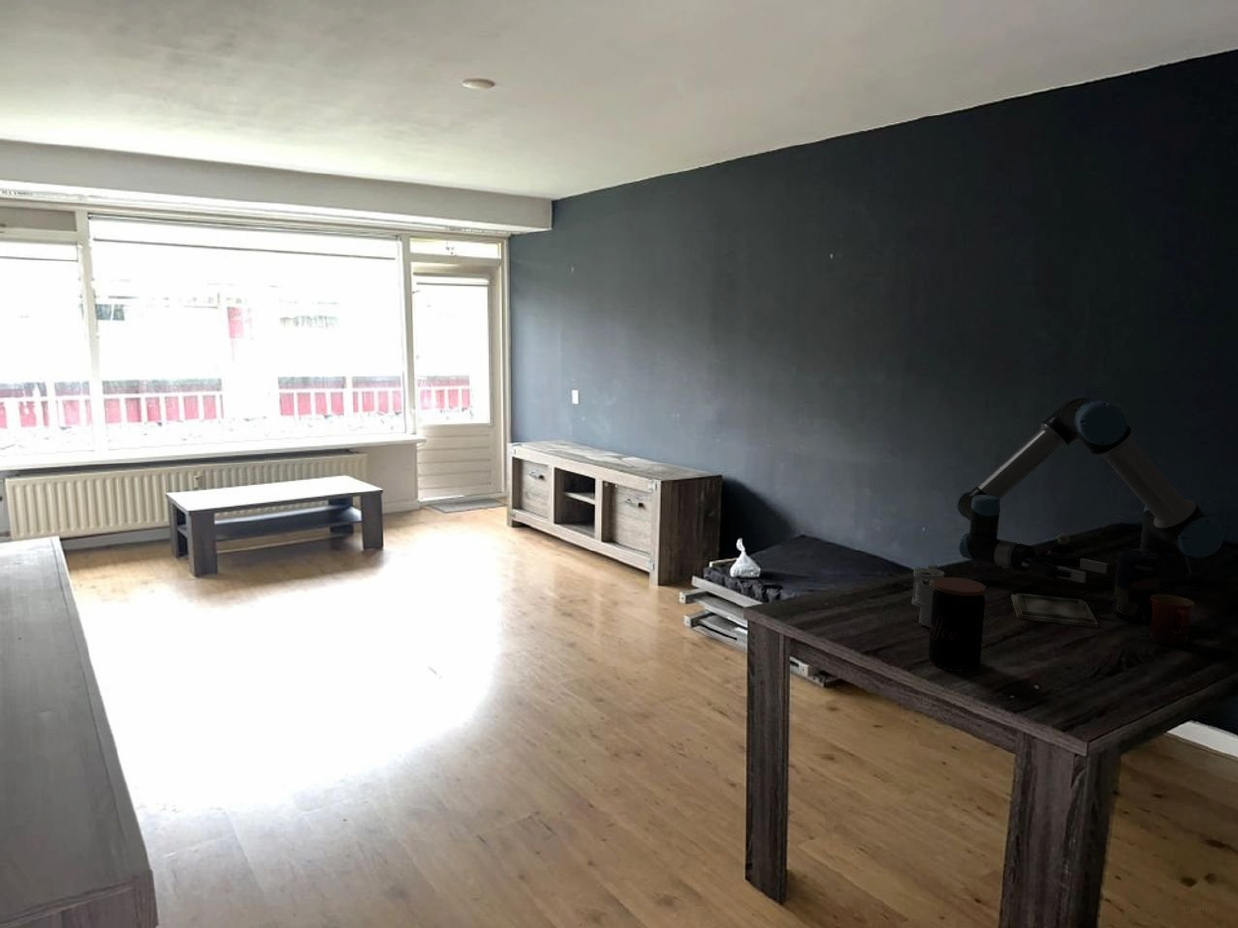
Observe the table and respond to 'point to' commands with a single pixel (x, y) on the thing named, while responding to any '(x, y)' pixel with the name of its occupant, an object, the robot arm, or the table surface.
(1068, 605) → the square tray
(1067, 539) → the grandmother figurine
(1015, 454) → the robot arm
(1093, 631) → the table surface
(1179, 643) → the mug
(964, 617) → the coffee jar
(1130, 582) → the canister
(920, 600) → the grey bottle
